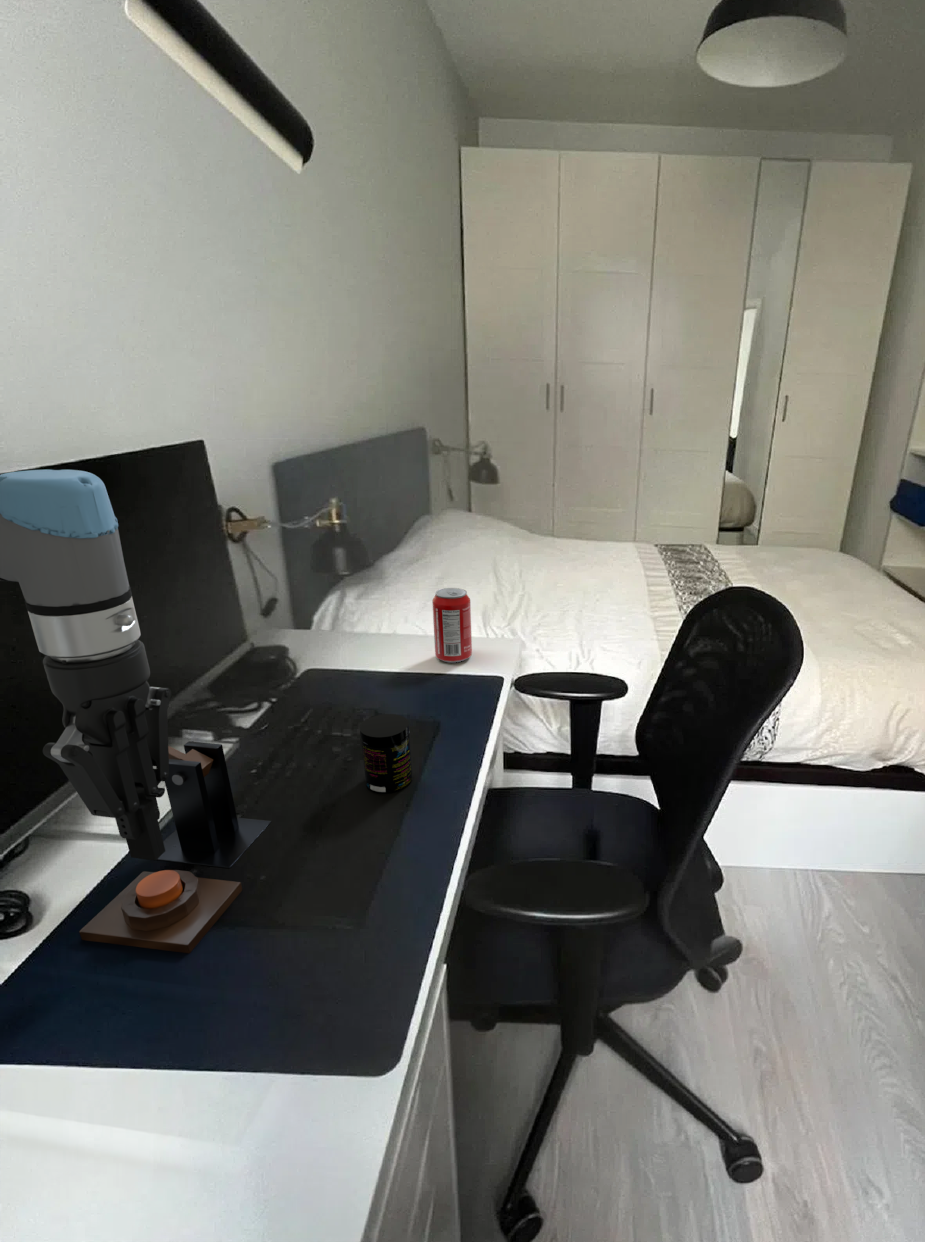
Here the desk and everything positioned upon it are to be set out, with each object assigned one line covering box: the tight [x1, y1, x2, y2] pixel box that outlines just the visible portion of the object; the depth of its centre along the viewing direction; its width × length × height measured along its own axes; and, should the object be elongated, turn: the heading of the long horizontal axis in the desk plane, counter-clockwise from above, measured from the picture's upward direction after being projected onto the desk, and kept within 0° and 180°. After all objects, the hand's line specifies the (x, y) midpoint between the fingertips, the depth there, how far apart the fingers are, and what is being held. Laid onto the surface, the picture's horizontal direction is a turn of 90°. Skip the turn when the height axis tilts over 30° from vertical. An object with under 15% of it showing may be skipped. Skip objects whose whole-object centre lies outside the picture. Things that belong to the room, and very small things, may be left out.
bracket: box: [155, 740, 272, 869], centre depth 80 cm, size 11×9×14 cm
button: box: [136, 869, 183, 909], centre depth 69 cm, size 4×4×2 cm
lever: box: [168, 745, 213, 777], centre depth 77 cm, size 14×6×2 cm, turn 83°
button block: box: [78, 869, 243, 954], centre depth 70 cm, size 12×9×4 cm
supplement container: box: [359, 713, 414, 795], centre depth 94 cm, size 7×7×10 cm
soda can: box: [431, 587, 473, 664], centre depth 137 cm, size 8×8×15 cm
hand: (148, 853), depth 67 cm, fingers closed
